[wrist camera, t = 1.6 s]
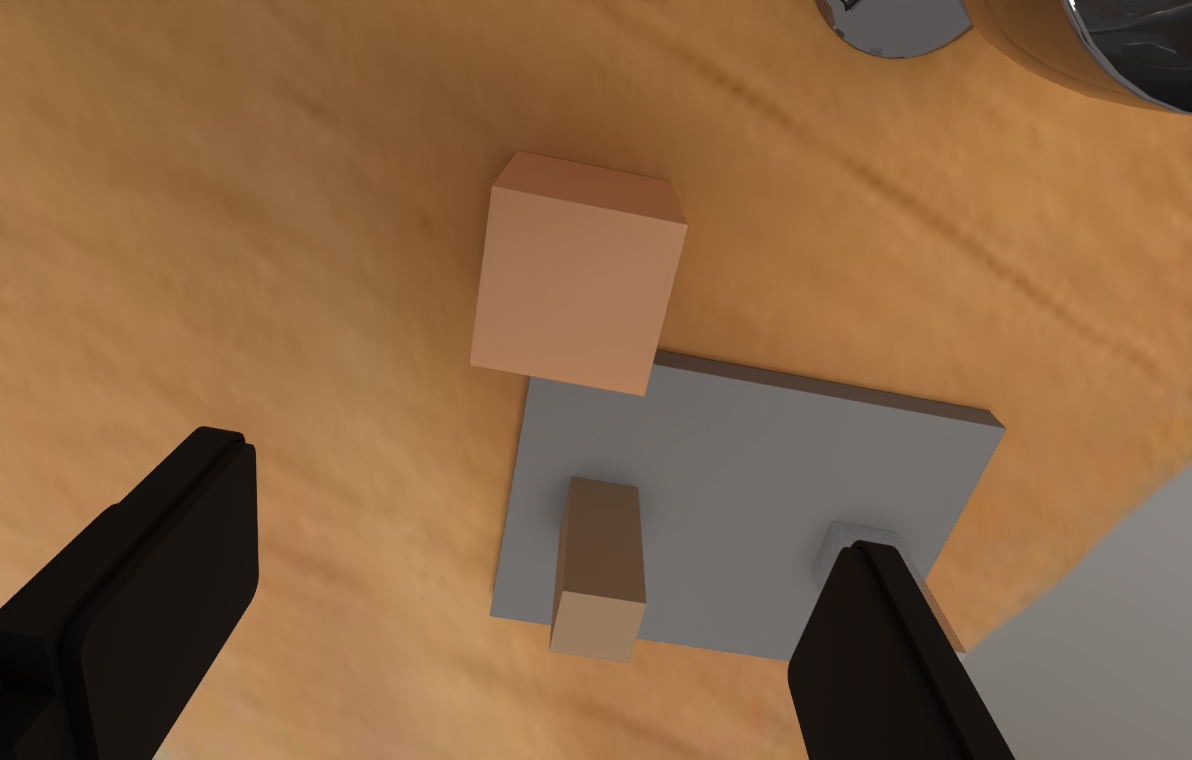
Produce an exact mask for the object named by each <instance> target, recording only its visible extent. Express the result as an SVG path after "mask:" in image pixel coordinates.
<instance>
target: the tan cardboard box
mask: <svg viewBox="0 0 1192 760" xmlns="http://www.w3.org/2000/svg"><path fill="white" fill-rule="evenodd" d="M687 228H688V223H687V221H686V218H685V216H684V214H683V211H682V209H681V207H680V204H679V202H678V200H677V197H676V195H675V193H674V190H673V188H672V186H671V183H670V181H666V180H661V179H656V178H651V177H646V176H641V175H636V174H631V173H626V172H621V171H617V170H612V169H607V168H602V167H597V166H592V165H587V164H582V163H577V162H572V161H567V160H562V159H558V158H553V157H548V156H543V155H538V154H533V153H528V152H523V151H517V152H516V153H515V155H514V156H513V158H512V159H511V160H510V162H509V163H508V164H507V166H506V167H505V169H504V170H503V171H502V173H501V174H500V175H499V177H498V178H497V180H496V181H495V182H494V184H493V185H492V189H491V197H490V205H489V213H488V221H487V229H486V237H485V245H484V253H483V261H482V269H481V277H480V285H479V293H478V301H477V309H476V317H475V325H474V333H473V341H472V349H471V357H470V365H472V366H478V367H483V368H489V369H494V370H500V371H506V372H511V373H517V374H522V375H528V376H534V377H539V378H545V379H550V380H556V381H562V382H567V383H573V384H578V385H584V386H590V387H595V388H601V389H606V390H612V391H618V392H623V393H629V394H634V395H640V396H645V392H646V388H647V384H648V380H649V376H650V372H651V368H652V364H653V361H654V357H655V353H656V349H657V345H658V341H659V337H660V333H661V329H662V326H663V322H664V318H665V314H666V310H667V306H668V302H669V298H670V294H671V290H672V287H673V283H674V279H675V275H676V271H677V267H678V263H679V259H680V255H681V252H682V248H683V244H684V240H685V236H686V232H687Z"/></svg>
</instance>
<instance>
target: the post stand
mask: <svg viewBox="0 0 1192 760" xmlns="http://www.w3.org/2000/svg"><path fill="white" fill-rule="evenodd" d="M1005 430H1006V428H1005V427H1004V426H1003V425H1002V424H1001V423H1000V422H999V421H998V420H997V419H996V418H995V417H994V416H993V415H992V414H991V413H990V412H989V411H985V410H980V409H974V408H969V407H963V406H958V405H953V404H947V403H942V402H936V401H931V400H925V399H920V398H915V397H909V396H904V395H898V394H893V393H887V392H882V391H876V390H871V389H866V388H860V387H855V386H849V385H844V384H838V383H833V382H828V381H822V380H817V379H811V378H806V377H800V376H795V375H790V374H784V373H779V372H773V371H768V370H762V369H757V368H751V367H746V366H741V365H735V364H730V363H724V362H719V361H713V360H708V359H703V358H697V357H692V356H686V355H681V354H675V353H670V352H665V351H659V350H656V353H655V357H654V361H653V364H652V368H651V372H650V376H649V380H648V384H647V388H646V392H645V396H640V395H634V394H629V393H623V392H618V391H612V390H606V389H601V388H595V387H590V386H584V385H578V384H573V383H567V382H562V381H556V380H550V379H545V378H539V377H534V376H530V382H529V388H528V394H527V399H526V405H525V411H524V417H523V423H522V429H521V435H520V441H519V446H518V452H517V458H516V464H515V470H514V476H513V482H512V487H511V493H510V499H509V505H508V511H507V517H506V523H505V529H504V534H503V540H502V546H501V552H500V558H499V564H498V570H497V575H496V581H495V587H494V593H493V599H492V605H491V611H490V616H493V617H499V618H506V619H513V620H519V621H526V622H533V623H539V624H546V625H551V634H550V645H549V651H551V652H558V653H565V654H572V655H578V656H585V657H592V658H599V659H605V660H612V661H619V662H625V663H629V660H630V657H631V653H632V650H633V647H634V643H635V640H636V638H638V639H645V640H651V641H658V642H665V643H671V644H678V645H684V646H691V647H698V648H704V649H711V650H718V651H724V652H731V653H737V654H744V655H751V656H757V657H764V658H770V659H777V660H784V661H790V660H791V657H792V655H793V653H794V651H795V649H796V646H797V644H798V642H799V640H800V638H801V635H802V633H803V631H804V629H805V627H806V624H807V622H808V620H809V618H810V616H811V613H812V611H813V609H814V607H815V605H816V602H817V600H818V598H819V596H820V593H819V590H818V588H817V585H816V583H815V580H814V577H813V575H812V572H811V568H812V566H813V563H814V561H815V559H816V557H817V554H818V552H819V550H820V547H821V545H822V543H823V541H824V538H825V536H826V534H827V531H828V529H829V527H830V524H831V522H832V520H836V521H842V522H848V523H854V524H860V525H866V526H872V527H878V528H884V529H889V530H895V531H896V532H897V534H898V536H899V538H900V539H901V541H902V543H903V545H904V546H905V548H906V550H907V551H908V553H909V555H910V557H911V558H912V560H913V562H914V563H915V565H916V567H917V569H918V570H919V572H920V574H921V576H922V577H923V579H924V581H925V579H926V578H927V576H928V574H929V572H930V570H931V568H932V566H933V565H934V563H935V561H936V559H937V557H938V555H939V553H940V552H941V550H942V548H943V546H944V544H945V542H946V540H947V538H948V537H949V535H950V533H951V531H952V529H953V527H954V525H955V524H956V522H957V520H958V518H959V516H960V514H961V512H962V511H963V509H964V507H965V505H966V503H967V501H968V499H969V497H970V496H971V494H972V492H973V490H974V488H975V486H976V484H977V483H978V481H979V479H980V477H981V475H982V473H983V471H984V470H985V468H986V466H987V464H988V462H989V460H990V458H991V456H992V455H993V453H994V451H995V449H996V447H997V445H998V443H999V442H1000V440H1001V438H1002V436H1003V434H1004V432H1005Z"/></svg>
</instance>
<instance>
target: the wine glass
mask: <svg viewBox="0 0 1192 760" xmlns="http://www.w3.org/2000/svg"><path fill="white" fill-rule="evenodd" d="M815 1H816V3H817V6H818V8H819V10H820V12H821V14H822V16H823V17H824V19H825V20H826V22H827V23H828V25H829V26H830V28H831V29H832V30H833V31H834V32H835V33H836V34H837V35H838V36H839V37H840V38H841V39H842V40H843V41H845V42H846V43H848V44H849V45H851V46H852V47H854V48H855V49H857V50H859V51H862V52H864V53H867V54H869V55H872V56H877V57H882V58H888V59H903V58H912V57H917V56H922V55H926V54H929V53H931V52H934V51H936V50H939V49H941V48H944V47H946V46H947V45H949V44H951V43H953V42H954V41H956V40H958V39H959V38H961V37H962V36H964V35H965V34H966V33H967V32H969V31H970V30H971V29H972V28H975V29H976V30H977V31H978V32H979V33H980V34H981V35H982V37H983V38H984V39H985V40H986V41H987V42H988V43H989V44H991V45H992V46H993V47H995V48H996V49H997V50H999V51H1000V52H1001V53H1003V54H1004V55H1006V56H1007V57H1008V58H1010V59H1011V60H1013V61H1014V62H1015V63H1017V64H1018V65H1020V66H1021V67H1022V68H1024V69H1025V70H1027V71H1028V72H1031V73H1033V74H1035V75H1037V76H1040V77H1042V78H1044V79H1046V80H1049V81H1051V82H1053V83H1055V84H1058V85H1060V86H1063V87H1065V88H1068V89H1070V90H1072V91H1075V92H1077V93H1080V94H1082V95H1085V96H1087V97H1091V98H1096V99H1100V100H1105V101H1109V102H1113V103H1118V104H1122V105H1127V106H1131V107H1137V108H1142V109H1148V110H1154V111H1159V112H1165V113H1171V114H1179V115H1186V116H1192V0H815Z"/></svg>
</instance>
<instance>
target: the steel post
mask: <svg viewBox="0 0 1192 760" xmlns="http://www.w3.org/2000/svg"><path fill="white" fill-rule="evenodd" d="M857 540H864V541H869V542H875V543H881V544H887V545H892V546H894V547H895V548H896V549H897V550H898V551H899V553H900V555H901V556H902V558H903V560H904V562H905V564H906V565H907V567H908V569H909V571H910V572H911V574H912V576H913V578H914V580H915V581H916V583H917V585H918V587H919V589H920V590H921V592H922V594H923V596H924V597H925V599H926V601H927V603H928V605H929V606H930V608H931V610H932V612H933V614H934V615H935V617H936V619H937V621H938V622H939V624H940V626H941V628H942V630H943V631H944V633H945V635H946V637H947V638H948V640H949V642H950V644H951V646H952V647H953V649H954V651H955V653H956V655H957V656H958V658H959V660H960V662H962V661H963V659H964V657H965V656H966V654H967V653H966V651H965V650H964V648H963V646H962V644H961V643H960V641H959V639H958V638H957V636H956V634H955V632H954V631H953V629H952V627H951V626H950V624H949V622H948V620H947V619H946V617H945V615H944V613H943V612H942V610H941V608H940V607H939V605H938V603H937V601H936V600H935V598H934V596H933V594H932V593H931V591H930V589H929V588H928V586H927V584H926V582H925V581H924V579H923V577H922V576H921V574H920V572H919V570H918V569H917V567H916V565H915V563H914V562H913V560H912V558H911V557H910V555H909V553H908V551H907V550H906V548H905V546H904V545H903V543H902V541H901V539H900V538H899V536H898V534H897V532H896V531H895V530H889V529H884V528H878V527H872V526H866V525H860V524H854V523H848V522H842V521H836V520H832V522H831V524H830V527H829V529H828V531H827V534H826V536H825V538H824V541H823V543H822V545H821V547H820V550H819V552H818V554H817V557H816V559H815V561H814V563H813V566H812V568H811V572H812V575H813V577H814V580H815V583H816V585H817V588H818V590H819V593H820V594H821V591H822V589H823V587H824V585H825V583H826V580H827V578H828V576H829V574H830V572H831V569H832V567H833V565H834V563H835V561H836V559H837V556H838V554H839V552H840V551H841V549H842V548H844V547H851V545H852V544H853V543H854V542H855V541H857Z"/></svg>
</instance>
